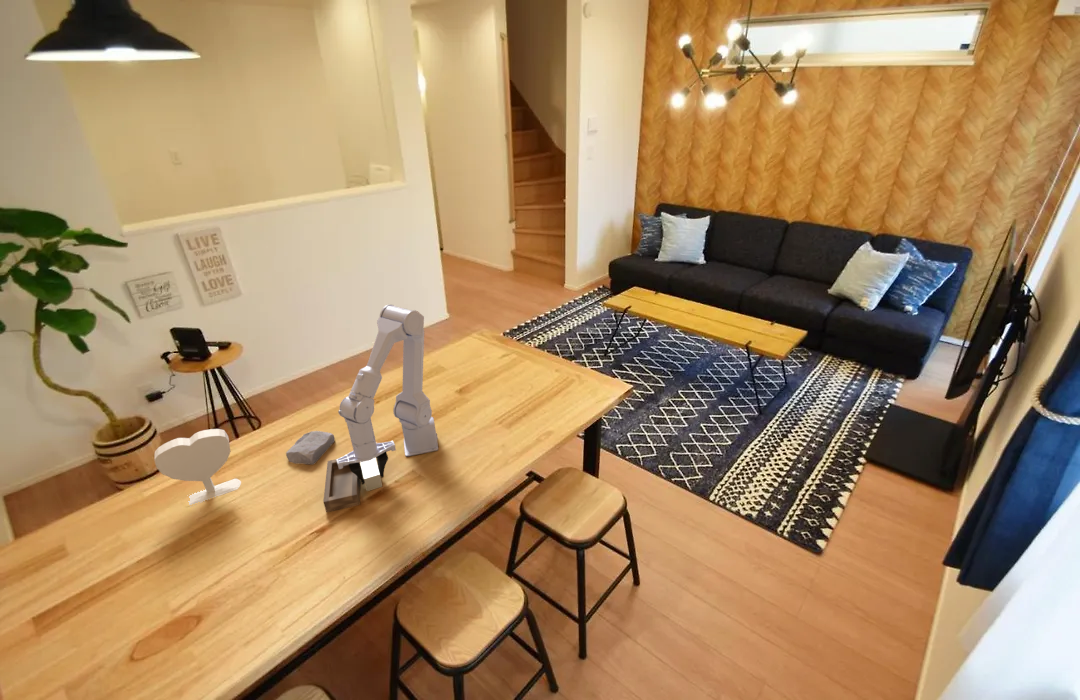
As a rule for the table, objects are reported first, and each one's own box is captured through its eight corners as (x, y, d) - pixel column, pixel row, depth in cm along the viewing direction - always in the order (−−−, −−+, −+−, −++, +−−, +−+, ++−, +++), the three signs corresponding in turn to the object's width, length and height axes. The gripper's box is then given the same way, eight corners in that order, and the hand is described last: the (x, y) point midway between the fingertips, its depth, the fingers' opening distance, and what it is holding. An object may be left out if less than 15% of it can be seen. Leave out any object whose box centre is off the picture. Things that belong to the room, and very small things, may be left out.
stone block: (286, 467, 140) (315, 466, 138) (279, 454, 139) (308, 452, 136) (311, 442, 151) (339, 441, 148) (305, 430, 149) (333, 428, 146)
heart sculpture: (244, 475, 135) (223, 422, 127) (246, 485, 131) (224, 432, 123) (177, 499, 127) (150, 444, 119) (177, 511, 124) (149, 456, 115)
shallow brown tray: (360, 464, 138) (357, 454, 137) (359, 504, 125) (356, 494, 123) (330, 470, 136) (327, 460, 134) (326, 512, 123) (323, 502, 121)
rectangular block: (375, 460, 140) (372, 447, 138) (382, 487, 131) (379, 474, 128) (361, 464, 139) (358, 451, 137) (367, 491, 129) (363, 479, 127)
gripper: (387, 421, 131) (395, 460, 137) (330, 439, 124) (341, 479, 131) (394, 435, 125) (402, 475, 132) (335, 454, 119) (346, 495, 125)
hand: (372, 478), depth 131 cm, fingers open, 4 cm apart
